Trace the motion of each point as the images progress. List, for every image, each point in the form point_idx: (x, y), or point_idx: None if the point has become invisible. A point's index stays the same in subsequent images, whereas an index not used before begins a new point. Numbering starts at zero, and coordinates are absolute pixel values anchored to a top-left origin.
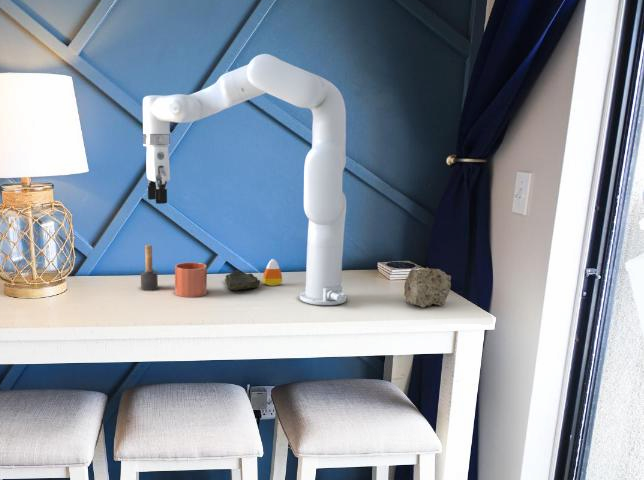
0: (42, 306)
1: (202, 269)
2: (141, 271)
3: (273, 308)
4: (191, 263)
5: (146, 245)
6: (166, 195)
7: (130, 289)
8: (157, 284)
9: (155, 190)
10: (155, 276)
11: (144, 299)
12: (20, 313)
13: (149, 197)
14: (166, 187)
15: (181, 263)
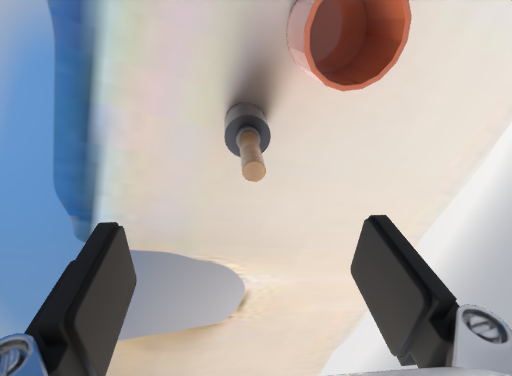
0: (292, 289)
1: (407, 4)
2: (235, 154)
3: None
4: (314, 13)
5: (255, 178)
6: (417, 255)
7: (239, 163)
8: (256, 108)
9: (399, 355)
10: (266, 122)
11: (326, 152)
12: (313, 308)
13: (131, 288)
14: (502, 326)
15: (309, 55)
